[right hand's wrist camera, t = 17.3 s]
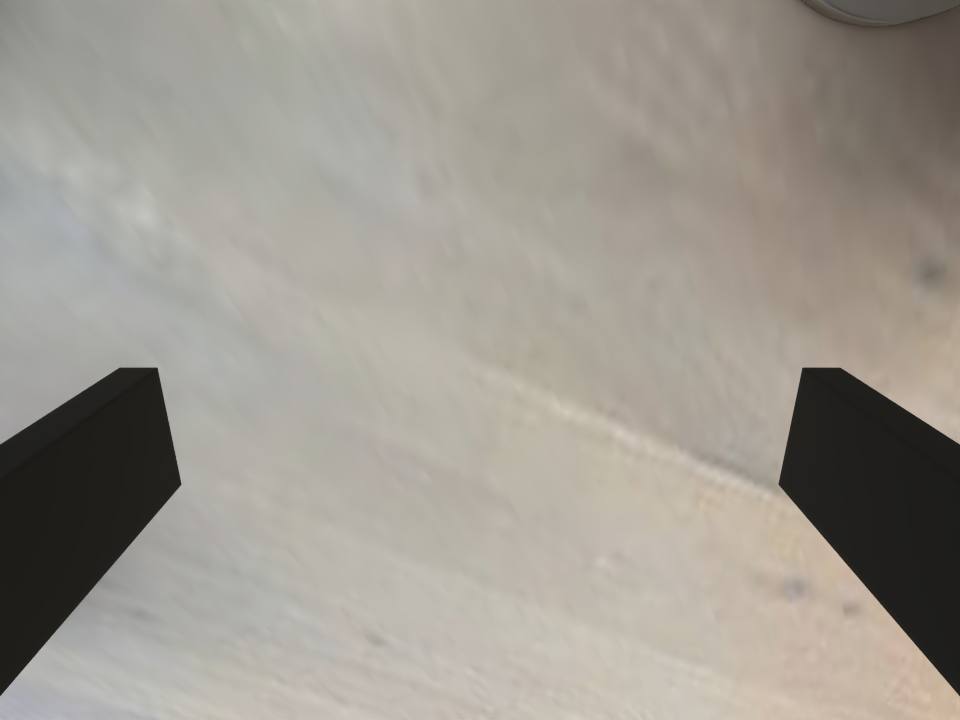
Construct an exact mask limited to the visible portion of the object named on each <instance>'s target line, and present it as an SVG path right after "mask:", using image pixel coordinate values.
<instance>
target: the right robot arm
mask: <svg viewBox="0 0 960 720" xmlns="http://www.w3.org/2000/svg"><path fill="white" fill-rule="evenodd" d="M802 1H804V2H805V3H806V4H807V5H809V6H810V7H811V8H813V9H814V10H816V11H818V12H820V13H821V14H823V15H825V16H827V17H830V18H832V19H834V20H837V21H841V22H844V23H847V24H853V25H859V26H872V27H876V26H890V25H896V24H902V23H906V22H910V21H913V20H917V19H921V18H925V17H928V16H932V15H935V14H938V13H941V12H943V11H946V10H949V9H951V8H953V7H955V6H957V5H959V4H960V0H802ZM180 486H181V480H180V475H179V470H178V465H177V460H176V456H175V451H174V446H173V441H172V436H171V431H170V426H169V422H168V417H167V412H166V407H165V402H164V397H163V392H162V388H161V383H160V378H159V373H158V368H119V369H117V370H115V371H114V372H112V373H111V374H109V375H108V376H106V377H105V378H103V379H101V380H100V381H98V382H97V383H95V384H94V385H92V386H91V387H89V388H87V389H86V390H84V391H83V392H81V393H80V394H78V395H77V396H75V397H73V398H72V399H70V400H69V401H67V402H66V403H64V404H63V405H61V406H59V407H58V408H56V409H55V410H53V411H52V412H50V413H49V414H47V415H45V416H44V417H42V418H41V419H39V420H38V421H36V422H35V423H33V424H31V425H30V426H28V427H27V428H25V429H24V430H22V431H21V432H19V433H18V434H16V435H14V436H13V437H11V438H10V439H8V440H7V441H5V442H4V443H2V444H0V696H1V695H2V693H3V692H4V691H5V690H6V689H7V688H8V686H9V685H10V684H11V683H12V682H13V681H14V679H15V678H16V677H17V676H18V675H19V674H20V672H21V671H22V670H23V669H24V668H25V667H26V665H27V664H28V663H29V662H30V661H31V660H32V658H33V657H34V656H35V655H36V654H37V653H38V651H39V650H40V649H41V648H42V647H43V646H44V644H45V643H46V642H47V641H48V640H49V639H50V637H51V636H52V635H53V634H54V633H55V632H56V630H57V629H58V628H59V627H60V626H61V625H62V623H63V622H64V621H65V620H66V619H67V618H68V616H69V615H70V614H71V613H72V612H73V611H74V609H75V608H76V607H77V606H78V605H79V604H80V602H81V601H82V600H83V599H84V598H85V597H86V595H87V594H88V593H89V592H90V591H91V590H92V588H93V587H94V586H95V585H96V584H97V582H98V581H99V580H100V579H101V578H102V577H103V575H104V574H105V573H106V572H107V571H108V570H109V568H110V567H111V566H112V565H113V564H114V563H115V561H116V560H117V559H118V558H119V557H120V556H121V554H122V553H123V552H124V551H125V550H126V549H127V547H128V546H129V545H130V544H131V543H132V542H133V540H134V539H135V538H136V537H137V536H138V535H139V533H140V532H141V531H142V530H143V529H144V528H145V526H146V525H147V524H148V523H149V522H150V521H151V519H152V518H153V517H154V516H155V515H156V514H157V512H158V511H159V510H160V509H161V508H162V507H163V505H164V504H165V503H166V502H167V501H168V500H169V498H170V497H171V496H172V495H173V494H174V493H175V491H176V490H177V489H178V488H179V487H180ZM779 486H780V487H781V488H782V489H783V490H784V491H785V493H786V494H787V495H788V496H789V497H790V498H791V500H792V501H793V502H794V503H795V504H796V505H797V507H798V508H799V509H800V510H801V511H802V512H803V514H804V515H805V516H806V517H807V518H808V519H809V521H810V522H811V523H812V524H813V525H814V526H815V528H816V529H817V530H818V531H819V532H820V533H821V535H822V536H823V537H824V538H825V539H826V540H827V542H828V543H829V544H830V545H831V546H832V547H833V549H834V550H835V551H836V552H837V553H838V554H839V556H840V557H841V558H842V559H843V560H844V561H845V563H846V564H847V565H848V566H849V567H850V568H851V570H852V571H853V572H854V573H855V574H856V575H857V577H858V578H859V579H860V580H861V581H862V583H863V584H864V585H865V586H866V587H867V588H868V590H869V591H870V592H871V593H872V594H873V595H874V597H875V598H876V599H877V600H878V601H879V602H880V604H881V605H882V606H883V607H884V608H885V609H886V611H887V612H888V613H889V614H890V615H891V616H892V618H893V619H894V620H895V621H896V622H897V623H898V625H899V626H900V627H901V628H902V629H903V630H904V632H905V633H906V634H907V635H908V636H909V637H910V639H911V640H912V641H913V642H914V643H915V644H916V646H917V647H918V648H919V649H920V650H921V651H922V653H923V654H924V655H925V656H926V657H927V658H928V660H929V661H930V662H931V663H932V664H933V665H934V667H935V668H936V669H937V670H938V671H939V672H940V674H941V675H942V676H943V677H944V678H945V679H946V681H947V682H948V683H949V684H950V685H951V686H952V688H953V689H954V690H955V691H956V692H957V693H958V695H959V696H960V444H958V443H956V442H955V441H953V440H952V439H950V438H949V437H947V436H946V435H944V434H943V433H941V432H939V431H938V430H936V429H935V428H933V427H932V426H930V425H929V424H927V423H925V422H924V421H922V420H921V419H919V418H918V417H916V416H915V415H913V414H911V413H910V412H908V411H907V410H905V409H904V408H902V407H901V406H899V405H897V404H896V403H894V402H893V401H891V400H890V399H888V398H887V397H885V396H883V395H882V394H880V393H879V392H877V391H876V390H874V389H873V388H871V387H869V386H868V385H866V384H865V383H863V382H862V381H860V380H859V379H857V378H855V377H854V376H852V375H851V374H849V373H848V372H846V371H845V370H843V369H841V368H802V373H801V378H800V383H799V388H798V392H797V397H796V402H795V407H794V412H793V417H792V422H791V426H790V431H789V436H788V441H787V446H786V451H785V456H784V460H783V465H782V470H781V475H780V480H779Z"/></svg>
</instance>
